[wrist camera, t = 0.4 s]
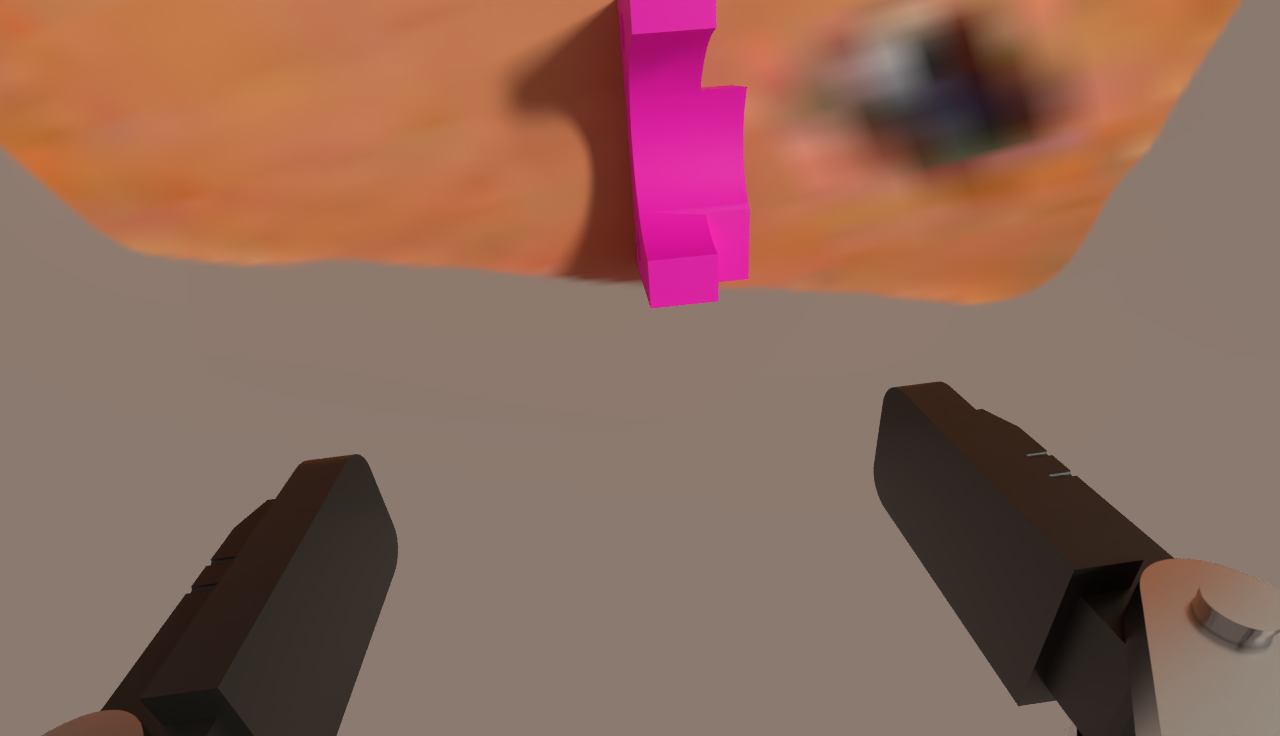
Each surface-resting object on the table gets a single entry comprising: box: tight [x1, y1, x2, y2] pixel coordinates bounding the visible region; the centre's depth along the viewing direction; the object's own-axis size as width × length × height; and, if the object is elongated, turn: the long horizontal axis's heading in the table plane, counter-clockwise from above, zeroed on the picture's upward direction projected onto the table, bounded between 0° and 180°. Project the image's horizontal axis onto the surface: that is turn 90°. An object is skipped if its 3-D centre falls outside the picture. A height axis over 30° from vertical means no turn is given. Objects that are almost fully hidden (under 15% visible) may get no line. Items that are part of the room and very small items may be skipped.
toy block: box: [618, 0, 750, 308], centre depth 31 cm, size 15×6×8 cm, turn 4°
